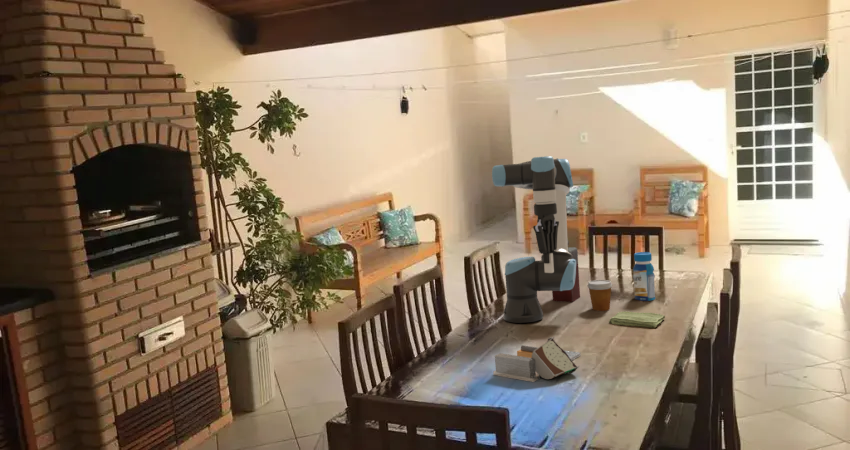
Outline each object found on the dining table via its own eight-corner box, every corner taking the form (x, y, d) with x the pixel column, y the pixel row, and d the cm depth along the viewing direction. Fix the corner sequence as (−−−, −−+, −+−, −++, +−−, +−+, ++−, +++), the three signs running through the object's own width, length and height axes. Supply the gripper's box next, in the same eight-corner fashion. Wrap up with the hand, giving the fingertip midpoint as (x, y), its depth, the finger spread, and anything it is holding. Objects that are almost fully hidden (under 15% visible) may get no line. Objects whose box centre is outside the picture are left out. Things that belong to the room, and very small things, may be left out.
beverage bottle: (658, 302, 281) (656, 253, 279) (637, 304, 282) (635, 255, 280) (652, 298, 290) (650, 250, 288) (631, 299, 290) (629, 252, 288)
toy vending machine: (582, 300, 296) (578, 235, 293) (573, 306, 286) (569, 239, 283) (562, 299, 301) (558, 235, 298) (552, 305, 291) (548, 239, 288)
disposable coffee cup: (600, 316, 267) (598, 285, 266) (583, 312, 276) (582, 282, 275) (619, 311, 272) (617, 281, 270) (602, 307, 280) (600, 278, 279)
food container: (549, 391, 200) (572, 379, 206) (558, 379, 196) (580, 367, 202) (522, 359, 206) (545, 347, 212) (530, 347, 202) (553, 335, 208)
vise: (493, 374, 209) (492, 355, 208) (542, 350, 230) (541, 332, 229) (533, 382, 199) (532, 361, 199) (580, 355, 220) (579, 337, 220)
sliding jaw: (517, 360, 217) (516, 346, 216) (528, 355, 221) (527, 341, 221) (551, 366, 209) (550, 351, 208) (561, 360, 213) (560, 345, 213)
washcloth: (657, 329, 244) (657, 320, 244) (608, 326, 254) (607, 317, 253) (666, 320, 256) (665, 311, 255) (618, 317, 265) (617, 309, 264)
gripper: (545, 201, 239) (549, 268, 242) (524, 205, 230) (529, 275, 232) (564, 200, 234) (568, 269, 237) (544, 204, 225) (549, 276, 227)
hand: (549, 272), depth 234 cm, fingers closed
